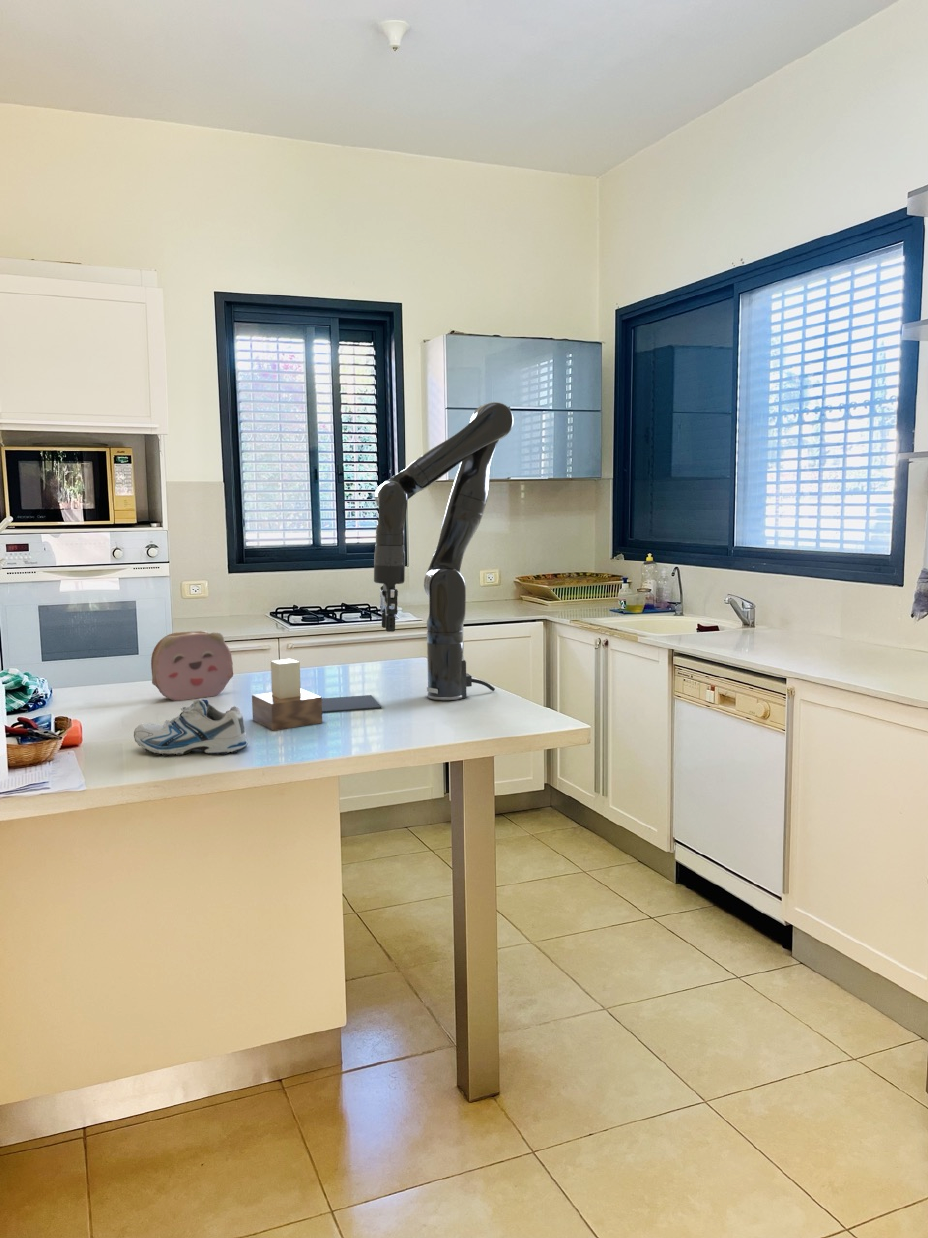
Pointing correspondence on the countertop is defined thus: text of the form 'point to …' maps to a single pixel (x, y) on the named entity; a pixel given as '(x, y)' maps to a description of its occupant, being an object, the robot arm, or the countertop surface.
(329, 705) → the rubber mat
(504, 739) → the countertop surface
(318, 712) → the brown box
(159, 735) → the athletic shoe
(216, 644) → the face sculpture
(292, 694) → the cream box
